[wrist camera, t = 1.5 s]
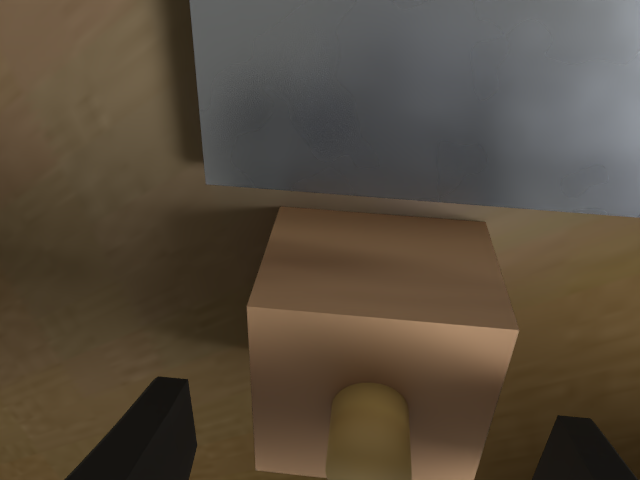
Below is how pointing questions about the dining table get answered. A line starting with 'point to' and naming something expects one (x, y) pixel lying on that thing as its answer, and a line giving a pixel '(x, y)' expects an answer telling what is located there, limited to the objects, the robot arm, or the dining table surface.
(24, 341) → the dining table surface
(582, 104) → the grey square baseplate
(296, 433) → the block
